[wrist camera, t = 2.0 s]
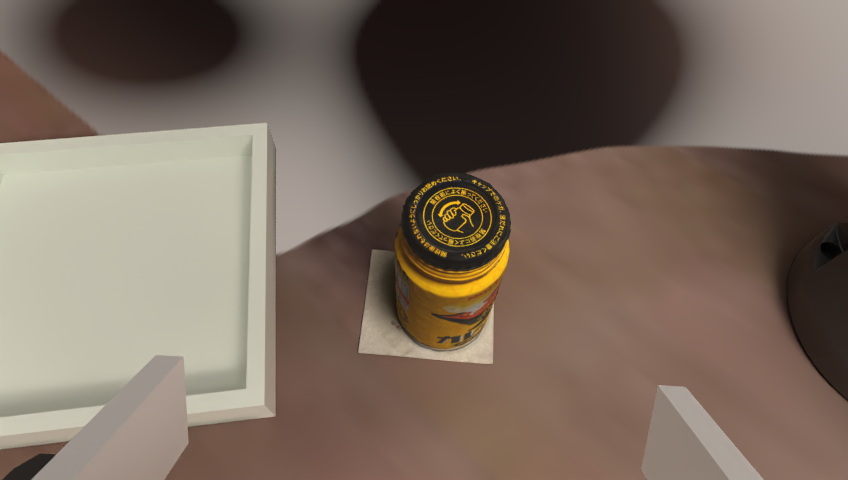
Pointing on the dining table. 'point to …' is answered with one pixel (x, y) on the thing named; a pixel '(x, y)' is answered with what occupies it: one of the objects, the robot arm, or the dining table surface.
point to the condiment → (439, 274)
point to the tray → (136, 274)
